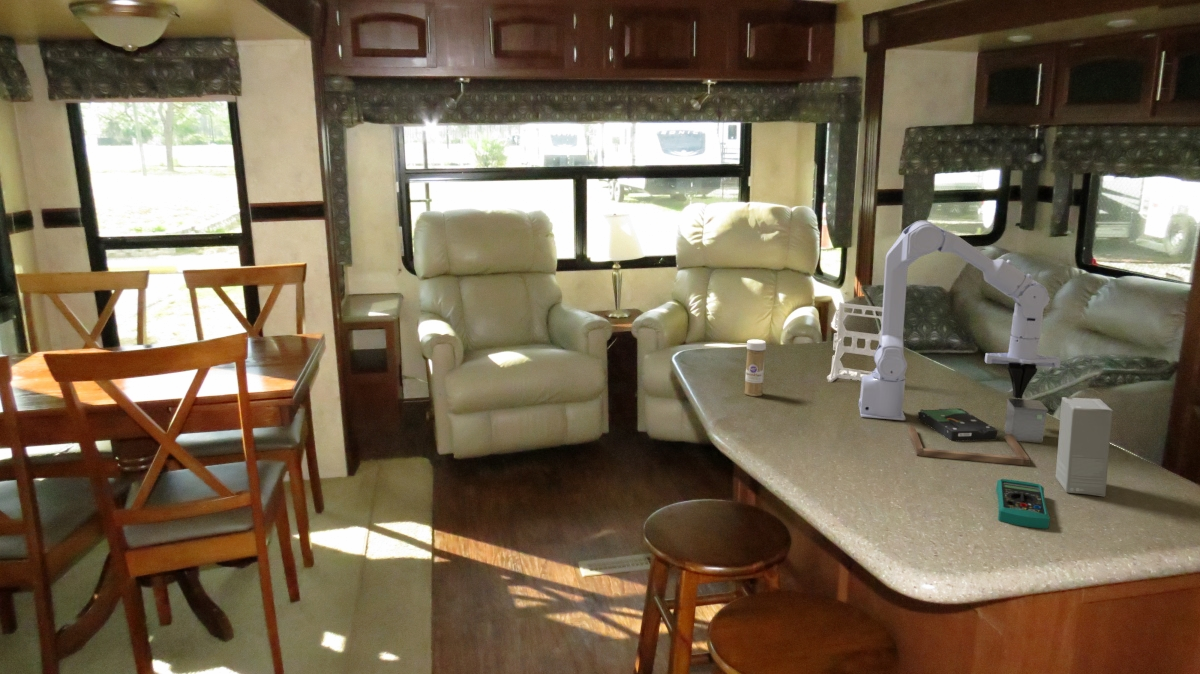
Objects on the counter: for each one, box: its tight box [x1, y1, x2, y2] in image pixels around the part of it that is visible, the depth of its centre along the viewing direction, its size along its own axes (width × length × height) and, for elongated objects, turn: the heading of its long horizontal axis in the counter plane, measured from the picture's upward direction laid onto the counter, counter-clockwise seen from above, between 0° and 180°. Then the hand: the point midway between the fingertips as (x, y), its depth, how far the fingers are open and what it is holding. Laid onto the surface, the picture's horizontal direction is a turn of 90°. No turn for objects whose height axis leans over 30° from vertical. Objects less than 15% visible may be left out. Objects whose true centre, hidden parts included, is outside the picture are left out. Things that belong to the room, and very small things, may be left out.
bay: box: [907, 425, 1031, 467], centre depth 166 cm, size 20×15×1 cm
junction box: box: [1004, 397, 1049, 444], centre depth 172 cm, size 6×6×7 cm
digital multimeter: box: [995, 478, 1051, 530], centre depth 138 cm, size 7×15×3 cm, turn 156°
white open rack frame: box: [826, 302, 883, 383], centre depth 213 cm, size 14×14×20 cm
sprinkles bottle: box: [743, 338, 767, 397], centre depth 200 cm, size 5×5×14 cm
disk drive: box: [917, 408, 998, 442], centre depth 178 cm, size 10×3×15 cm
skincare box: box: [1054, 396, 1114, 497], centre depth 146 cm, size 8×7×16 cm
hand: (1017, 397), depth 179 cm, fingers closed
